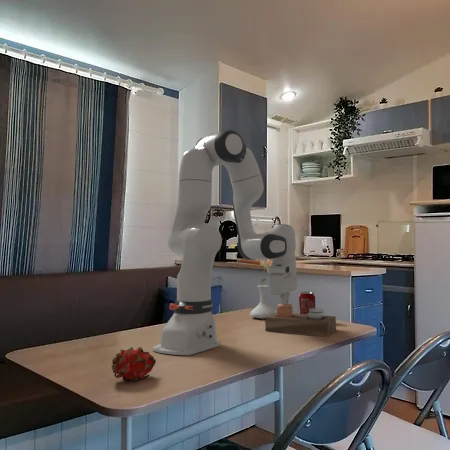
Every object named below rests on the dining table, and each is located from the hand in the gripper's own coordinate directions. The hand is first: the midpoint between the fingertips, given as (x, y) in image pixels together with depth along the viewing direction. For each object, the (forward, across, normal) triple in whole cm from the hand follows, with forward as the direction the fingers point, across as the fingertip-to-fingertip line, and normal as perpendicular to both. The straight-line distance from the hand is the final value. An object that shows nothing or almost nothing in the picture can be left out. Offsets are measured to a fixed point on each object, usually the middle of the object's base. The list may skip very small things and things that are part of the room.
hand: (284, 304), depth 167 cm
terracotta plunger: (+7, 0, 0) cm, 7 cm away
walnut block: (+9, 0, +6) cm, 11 cm away
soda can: (+10, -18, +3) cm, 20 cm away
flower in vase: (+10, -20, -17) cm, 28 cm away
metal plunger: (+8, 0, +12) cm, 14 cm away
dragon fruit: (+9, +72, -13) cm, 74 cm away
